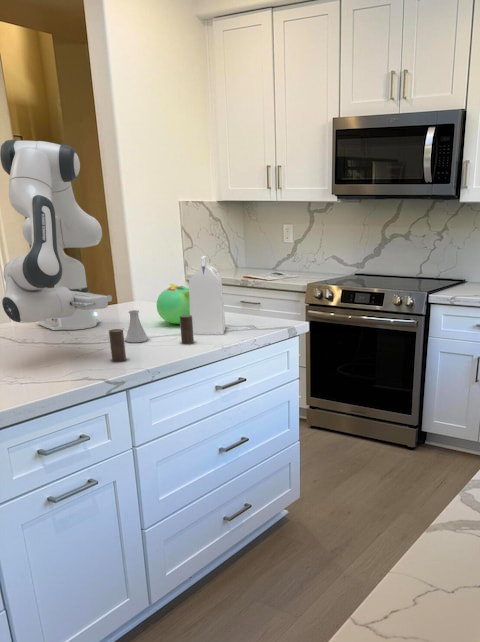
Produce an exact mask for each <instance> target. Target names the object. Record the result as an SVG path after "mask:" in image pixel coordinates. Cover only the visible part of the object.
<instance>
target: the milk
mask: <svg viewBox="0 0 480 642" xmlns="http://www.w3.org/2000/svg"><path fill="white" fill-rule="evenodd" d="M200 264H201V265H200V267H199V268H198V269H197V270H196V272H195V273H194V274H193V275H192V276H191V277H190V278H189V279H188V288H189V302H190V315H191V316H192V322H193V335H224V333H225V330H226V317H225V316H226V315H225V303H224V293H223V280H222V279H223V278H222V276H221V275H220V274H219V273H218V272H219V271H218V270H217V269H216V268H215V266H212V265H210V264H209V263H208V256H207V255H202V256H200Z"/></svg>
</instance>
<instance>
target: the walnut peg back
mask: <svg viewBox="0 0 480 642" xmlns="http://www.w3.org/2000/svg"><path fill="white" fill-rule="evenodd" d="M179 326H180V337H181V344H183V345H192V344H194V343H195V339H194V334H193V322H192V316H191V315H181V316H180V324H179Z"/></svg>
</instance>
